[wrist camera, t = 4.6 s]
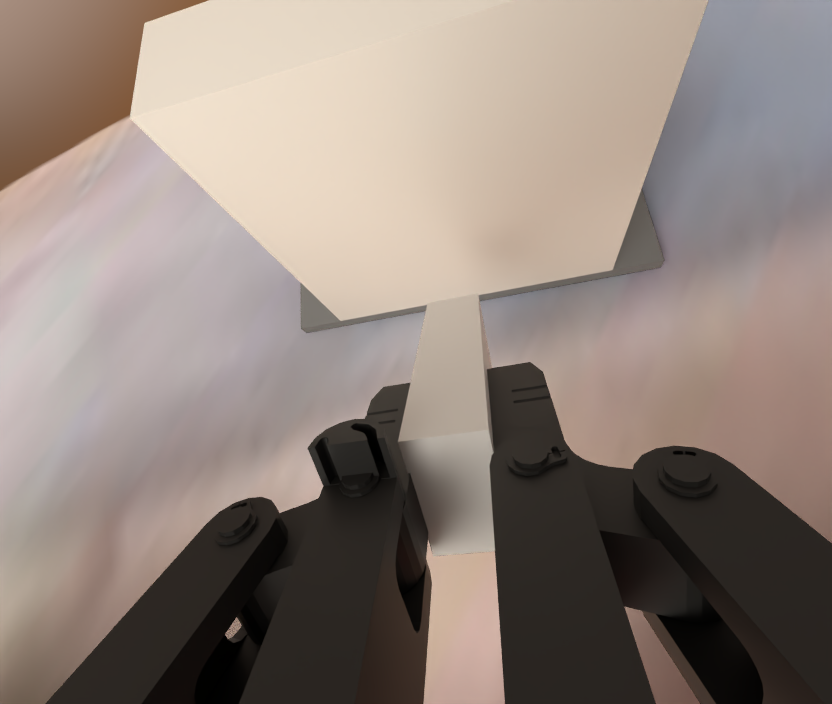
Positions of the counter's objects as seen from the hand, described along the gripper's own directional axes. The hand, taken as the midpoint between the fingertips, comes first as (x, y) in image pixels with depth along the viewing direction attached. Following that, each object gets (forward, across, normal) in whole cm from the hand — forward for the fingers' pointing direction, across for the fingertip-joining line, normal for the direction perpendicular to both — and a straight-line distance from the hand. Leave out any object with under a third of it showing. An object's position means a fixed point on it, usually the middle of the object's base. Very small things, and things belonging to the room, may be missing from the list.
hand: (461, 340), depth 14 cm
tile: (+8, 0, 0) cm, 8 cm away
